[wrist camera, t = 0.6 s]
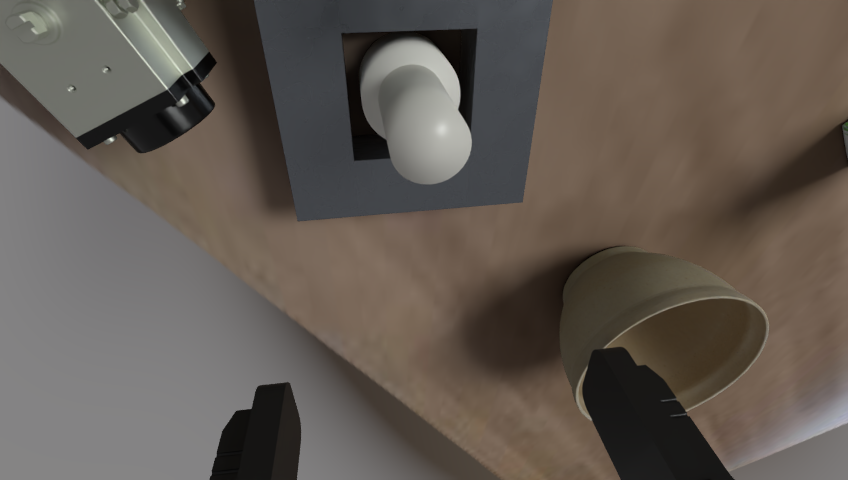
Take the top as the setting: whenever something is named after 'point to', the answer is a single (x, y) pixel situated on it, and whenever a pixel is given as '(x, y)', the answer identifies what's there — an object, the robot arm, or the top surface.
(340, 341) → the top surface
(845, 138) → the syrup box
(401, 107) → the white stepped cylindrical peg
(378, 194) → the bore block
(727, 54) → the top surface
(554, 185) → the top surface
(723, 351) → the planter bowl
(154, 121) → the pneumatic valve
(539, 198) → the top surface
